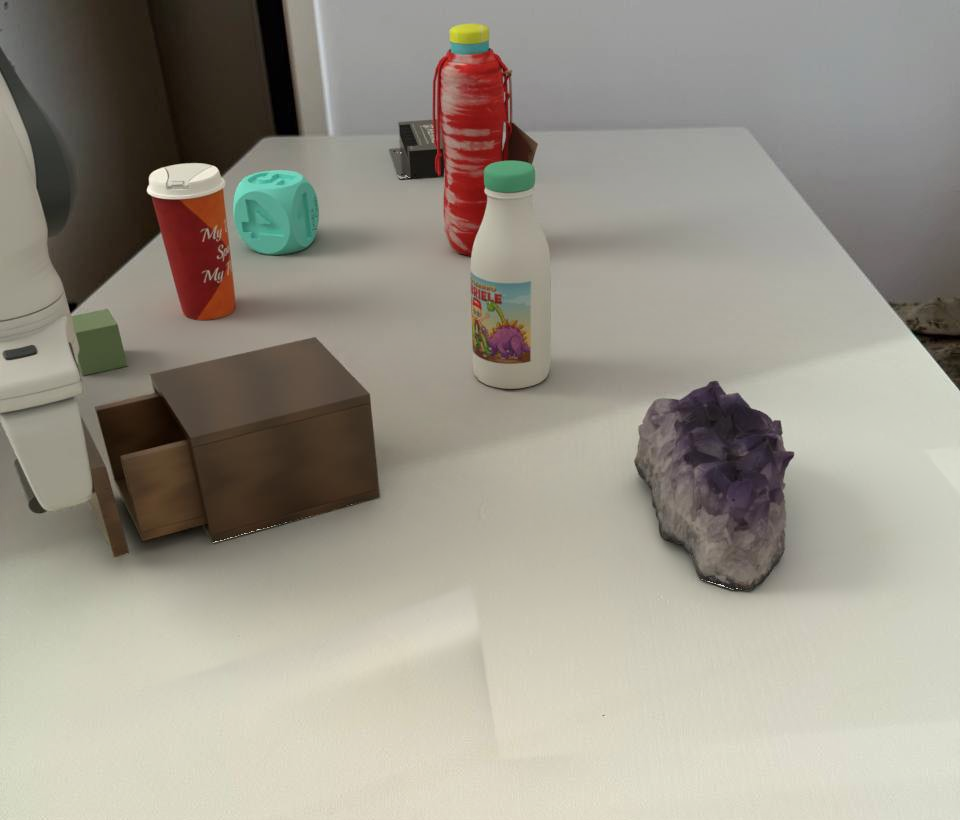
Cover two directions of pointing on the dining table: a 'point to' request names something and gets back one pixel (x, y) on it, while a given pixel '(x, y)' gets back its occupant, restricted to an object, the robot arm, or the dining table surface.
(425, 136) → the dark grey box
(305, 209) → the decorative dice
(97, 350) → the block
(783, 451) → the geode
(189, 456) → the drawer
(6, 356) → the robot arm
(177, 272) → the coffee cup
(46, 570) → the dining table surface
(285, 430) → the cabinet
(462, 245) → the water bottle
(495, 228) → the milk bottle
